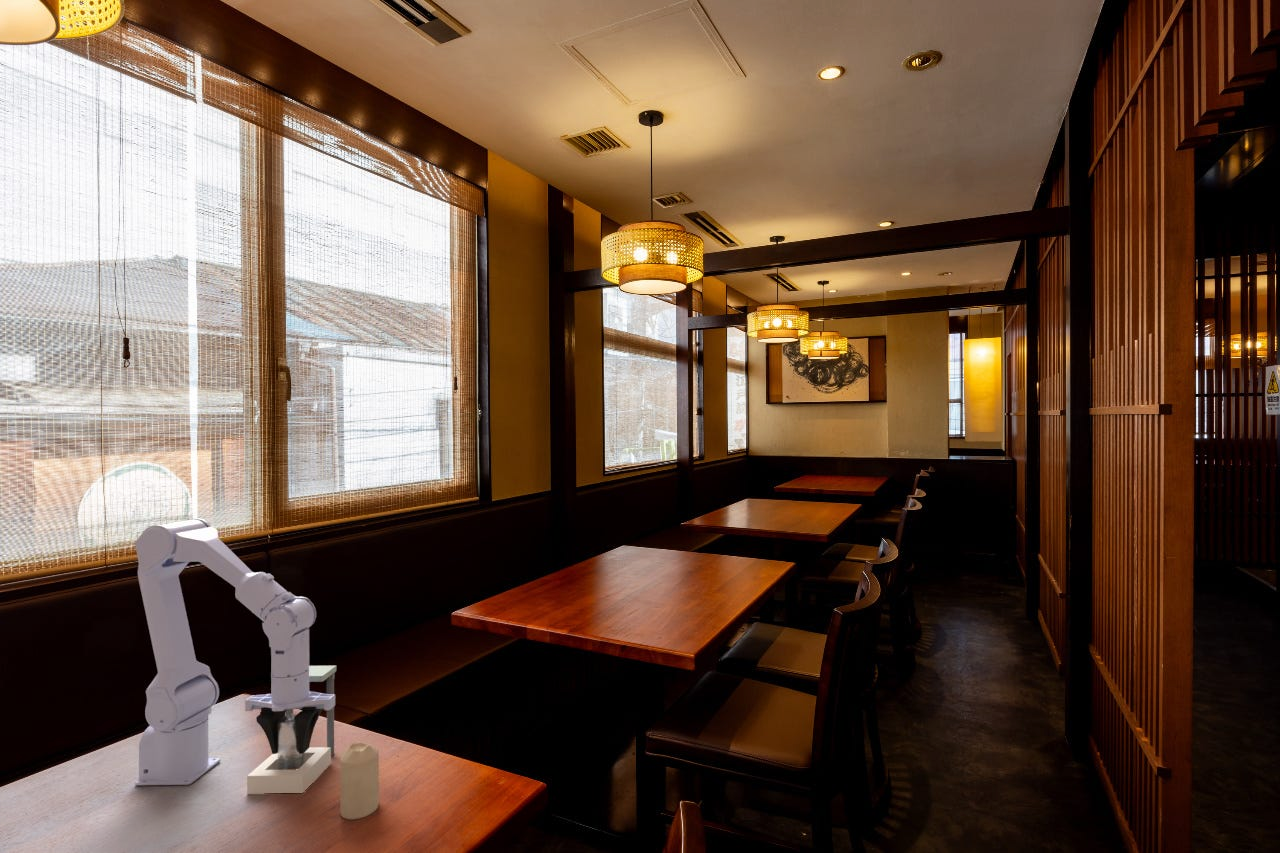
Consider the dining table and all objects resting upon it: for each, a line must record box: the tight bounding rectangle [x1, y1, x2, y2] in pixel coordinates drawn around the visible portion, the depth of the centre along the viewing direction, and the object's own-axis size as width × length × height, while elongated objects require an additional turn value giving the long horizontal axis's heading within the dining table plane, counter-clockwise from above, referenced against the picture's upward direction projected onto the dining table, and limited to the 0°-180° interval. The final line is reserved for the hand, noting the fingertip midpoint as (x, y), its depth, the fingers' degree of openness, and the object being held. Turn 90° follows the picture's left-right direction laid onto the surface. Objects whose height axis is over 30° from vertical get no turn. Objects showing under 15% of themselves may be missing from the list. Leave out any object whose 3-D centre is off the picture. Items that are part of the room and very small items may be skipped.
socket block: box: [246, 746, 332, 795], centre depth 107 cm, size 9×9×3 cm
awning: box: [285, 665, 337, 756], centre depth 113 cm, size 9×5×16 cm, turn 90°
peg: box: [278, 713, 304, 770], centre depth 107 cm, size 4×4×8 cm
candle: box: [339, 742, 380, 820], centre depth 98 cm, size 6×6×10 cm
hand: (290, 750), depth 107 cm, fingers closed on peg, 4 cm apart
